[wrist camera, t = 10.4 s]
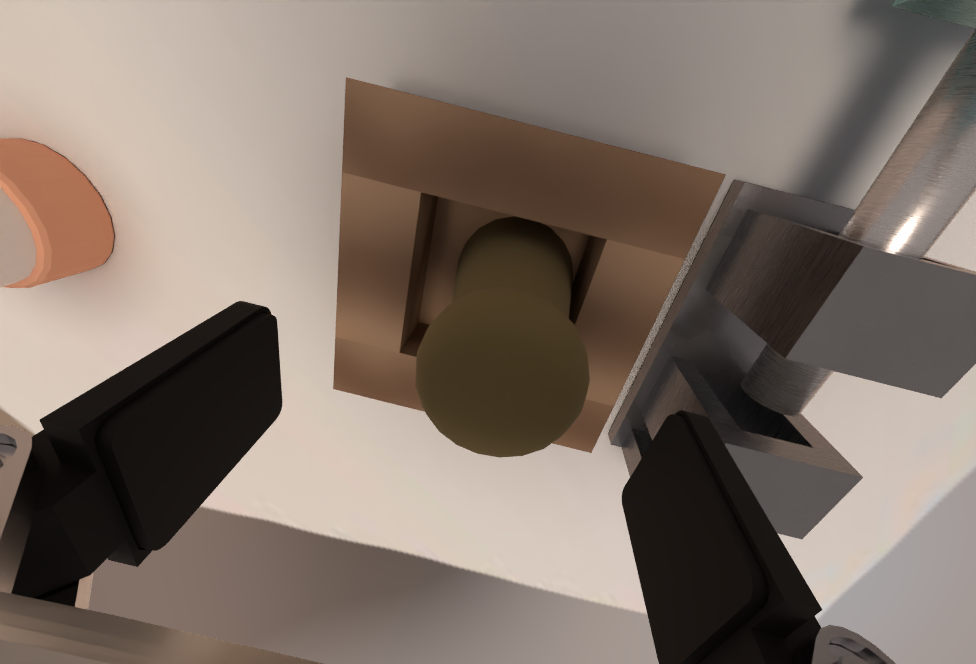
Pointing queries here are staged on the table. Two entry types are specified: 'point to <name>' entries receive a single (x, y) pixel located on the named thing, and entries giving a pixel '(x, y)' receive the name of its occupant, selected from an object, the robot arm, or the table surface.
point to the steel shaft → (900, 197)
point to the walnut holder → (478, 201)
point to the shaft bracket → (795, 341)
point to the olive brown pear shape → (506, 344)
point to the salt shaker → (47, 217)
